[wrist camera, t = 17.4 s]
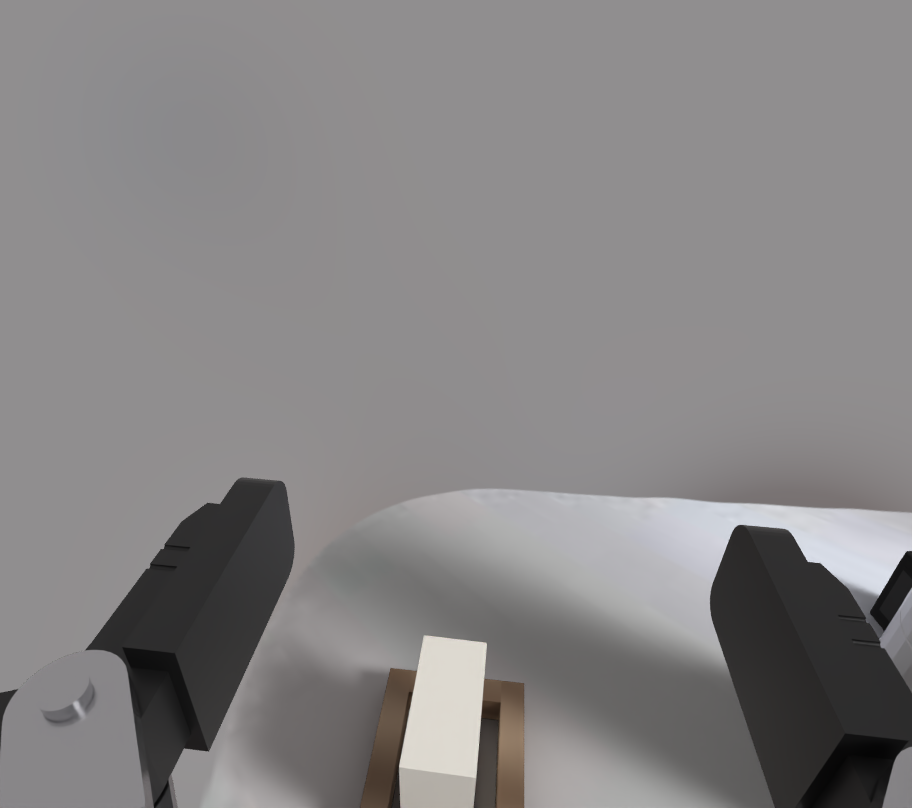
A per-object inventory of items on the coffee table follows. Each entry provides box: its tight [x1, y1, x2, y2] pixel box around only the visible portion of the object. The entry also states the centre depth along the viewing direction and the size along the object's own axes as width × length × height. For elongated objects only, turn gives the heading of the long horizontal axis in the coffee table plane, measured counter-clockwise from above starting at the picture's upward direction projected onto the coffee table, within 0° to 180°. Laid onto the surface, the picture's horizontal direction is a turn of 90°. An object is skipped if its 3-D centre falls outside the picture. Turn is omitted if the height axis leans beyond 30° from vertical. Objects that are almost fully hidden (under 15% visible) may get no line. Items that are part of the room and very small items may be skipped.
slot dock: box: [360, 668, 524, 808], centre depth 34 cm, size 13×9×2 cm
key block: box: [399, 635, 487, 808], centre depth 31 cm, size 4×7×10 cm, turn 173°
